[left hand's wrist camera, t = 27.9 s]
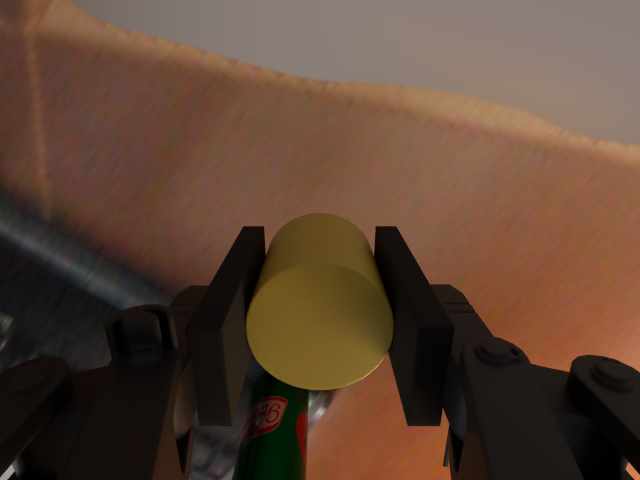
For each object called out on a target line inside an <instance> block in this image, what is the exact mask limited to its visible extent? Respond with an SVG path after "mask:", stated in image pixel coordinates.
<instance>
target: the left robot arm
mask: <svg viewBox="0 0 640 480" xmlns="http://www.w3.org/2000/svg"><path fill="white" fill-rule="evenodd" d="M265 257H266V254H265V236H264V226H244V227H243V228H242V230H241V232H240V233H239V235H238V237H237V239H236V240H235V242H234V244H233V246H232V247H231V249H230V251H229V252H228V254H227V256H226V258H225V259H224V261H223V263H222V264H221V266H220V268H219V270H218V271H217V273H216V275H215V277H214V278H213V280H212V282H211V283H210V285H209V286H189V287H188V288H186V289H185V290H183V291H182V292H180V293H179V294H177V296H176V297H175V299H174V300H173V301H172V303H171V306H169V307H166V306H162V305H158V304H148V305H141V306H135V307H132V308H129V309H126V310H123V311H121V312H119V313H117V314H116V315H114V316H112V317H111V318H110V319H109V320H108V321H107V322H106V323H105V324H104V326H105V330H106V335H107V339H108V343H109V347H110V351H111V356H112V360H111V362H110V364H109V365H108V366H105V367H101V368H97V369H92V370H87V371H82V372H77V373H72V374H71V372H70V369H69V365H68V363H67V362H66V361H65V360H64V359H62V358H57V357H43V358H36V359H32V360H28V361H25V362H22V363H20V364H18V365H16V366H14V367H12V368H10V369H8V370H6V371H5V372H3V373H2V374H0V477H1V476H2V475H3V473H4V472H5V471H6V470H7V469H8V468H9V466H10V465H11V464H12V465H13V468H14V470H15V472H14V473H13V474H12V475H11V476H10V478H9V479H8V480H189V473H190V464H191V456H192V447H193V437H192V430H191V423H192V420H193V418H194V415H195V413H196V410H197V411H198V418H199V425H200V426H232V424H233V420H234V416H235V412H236V409H237V405H238V401H239V397H240V393H241V390H242V386H243V382H244V378H245V375H246V371H247V367H248V363H249V360H250V356H251V352H252V351H251V349H250V347H249V344H248V341H247V337H246V325H245V321H246V314H247V310H248V307H249V304H250V301H251V298H252V295H253V292H254V289H255V286H256V283H257V281H258V278H259V275H260V272H261V269H262V266H263V263H264V260H265ZM374 259H375V262H376V265H377V267H378V270H379V273H380V276H381V279H382V282H383V285H384V288H385V291H386V294H387V297H388V299H389V302H390V305H391V308H392V311H393V317H394V334H393V339H392V343H391V346H390V348H389V350H388V353H389V357H390V361H391V364H392V368H393V372H394V376H395V379H396V383H397V387H398V391H399V394H400V398H401V402H402V406H403V410H404V413H405V417H406V421H407V425H408V426H440V423H441V416H442V410H443V409H444V411H445V414H446V416H447V419H448V422H449V430H448V436H447V443H446V449H445V455H444V462H443V466H446V467H448V464H450V472H451V480H634V479H633V478H632V477H631V476H630V474H629V473H628V472H627V471H626V470H625V469H626V467H627V464H628V462H629V463H630V464H631V465H632V466H633V467H634V469H635V470H636V471H637V472H638V473H639V474H640V372H638V371H637V370H635V369H634V368H632V367H630V366H628V365H626V364H624V363H621V362H620V361H618V360H615V359H612V358H608V357H604V356H595V355H584V356H579V357H577V358H576V359H574V360H573V361H572V364H571V368H570V371H569V372H566V371H561V370H556V369H551V368H546V367H542V366H538V365H534V364H531V363H530V361H529V359H528V357H527V356H526V355H525V353H524V352H523V351H522V350H521V349H520V348H518V347H517V346H515V345H514V344H512V343H510V342H508V341H505V340H503V339H501V338H496V337H494V336H493V335H492V334H491V332H490V331H489V329H488V328H487V327H486V325H485V324H484V322H483V321H482V320H481V318H480V317H479V316H478V314H477V313H475V310H474V309H473V307H472V306H471V304H469V302H468V300H467V299H466V297H465V296H464V295H463V293H462V292H460V291H459V290H457V289H456V288H454V287H452V286H451V285H449V284H429V282H428V280H427V279H426V277H425V275H424V274H423V272H422V270H421V268H420V267H419V265H418V263H417V262H416V260H415V258H414V256H413V255H412V253H411V251H410V249H409V248H408V246H407V244H406V243H405V241H404V239H403V237H402V236H401V234H400V232H399V230H398V229H397V227H396V226H376V232H375V250H374Z"/></svg>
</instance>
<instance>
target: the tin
mask: <svg viewBox="0 0 640 480" xmlns="http://www.w3.org/2000/svg"><path fill="white" fill-rule="evenodd" d="M245 325H246V337H247V341H248V344H249V347H250V349H251V351H252V353H253V355H254V357H255V358H256V359H257V361H258V362H259V363H260V365H261V366H262V367H263V368H264V369H265V370H266V371H268V372H269V373H270V374H271V375H273V376H274V377H276V378H277V379H279V380H281V381H283V382H285V383H287V384H290V385H292V386H296V387H300V388H304V389H311V390H329V389H335V388H340V387H344V386H347V385H350V384H352V383H355V382H357V381H359V380H360V379H362V378H364V377H365V376H367V375H368V374H370V373H371V372H372V371H373V370H374V369H375V368H376V367H377V366H378V365H379V364H380V363H381V362H382V360H383V359H384V357H385V356H386V354H387V352H388V350H389V348H390V346H391V343H392V339H393V334H394V317H393V311H392V308H391V305H390V302H389V299H388V297H387V294H386V291H385V288H384V285H383V282H382V279H381V276H380V273H379V270H378V267H377V265H376V262H375V259H374V256H373V253H372V250H371V247H370V244H369V242H368V240H367V239H366V237H365V236H364V234H363V233H362V232H361V231H360V230H359V228H357V227H356V226H355V225H354V224H352V223H351V222H349V221H348V220H346V219H344V218H342V217H339V216H336V215H332V214H325V213H315V214H308V215H304V216H301V217H298V218H296V219H294V220H292V221H290V222H289V223H287V224H286V225H284V226H283V227H282V228H281V229H280V230H279V231H278V232H277V234H276V235H275V236H274V238H273V239H272V241H271V244H270V246H269V249H268V251H267V254H266V257H265V260H264V263H263V266H262V269H261V272H260V275H259V278H258V281H257V283H256V286H255V289H254V292H253V295H252V298H251V301H250V304H249V307H248V310H247V314H246V321H245Z"/></svg>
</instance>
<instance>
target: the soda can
mask: <svg viewBox="0 0 640 480" xmlns="http://www.w3.org/2000/svg"><path fill="white" fill-rule="evenodd" d="M308 406H309V389H304V388H300V387H296V386H292V385H290V384H287V383H285V382H283V381H281V380H279V379H277V378H276V377H274V376H273V375H271V374H270V373H269V372H266V373H264V374H262V375H261V376H260V377H259V378H258V379H257V380H256V382H255V383H254V386H253V390H252V394H251V399H250V403H249V408H248V412H247V416H246V421H245V425H244V429H243V434H242V438H241V443H240V447H239V451H238V456H237V460H236V464H235V469H234V473H233V477H232V480H306V459H307V432H308Z"/></svg>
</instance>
